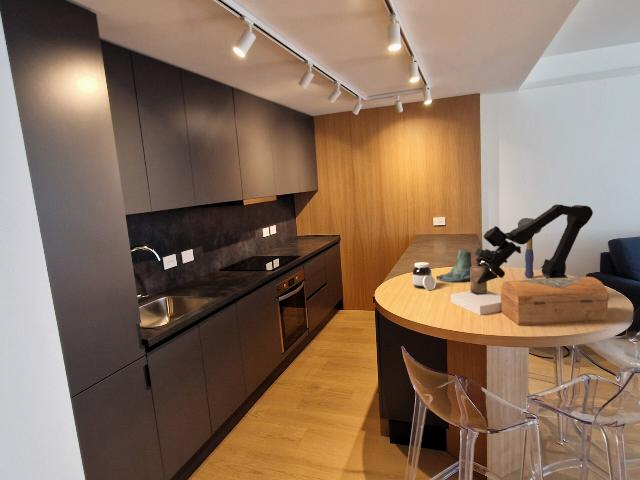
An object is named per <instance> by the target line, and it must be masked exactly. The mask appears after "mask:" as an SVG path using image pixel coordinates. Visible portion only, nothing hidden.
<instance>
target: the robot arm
mask: <svg viewBox="0 0 640 480" xmlns="http://www.w3.org/2000/svg"><path fill="white" fill-rule="evenodd" d="M562 215H563V216H564V215H565V216H566V224H567V225H566V227H565V228H564V230H563V231H564V232H563V234H562V235H561V237H560V239H559V242H558V244H557V247H556V249H555V251H554V253H553V256H552V257H550V259H547V258H546V259H545V260H544V262H543V264H542V265H541V267H540V268H541V274H542V275H543V277H545V279H547V278H569V277H568V276H567V275H566V270H567V266H566V265H567V263H566V262H567V259H568V257H569V254H570V252H571V250H572V248H573V247H574V244H575V242H576V239H577V237H578V236H579V234H580V231H581V229H582V228H583V227H584V226H585V225H587V224H588V222H589V221H590V219H591V218H592V217H593V215H594V210H593V209H592V207H590V206H589V205H582V204H580V205H579V204H576V205H575V204H574V205H573V206H571V205H570V206H569V205H565V204H557V203H556V204H554V205H552V206H551V207H550V208H548V209H546V211H545V212H543V213H541V214H540V215H538V216H537V217H536V218H533V219H534V220H533V221H531V222H530V223H528V224H526V225H523V226H520V227H518V226H517V227H516V228H514V229H512V230H511V231H510V232H504V231H502V230H501V229H500V227H498V226H497V225H495V226H493V228H490V229H489V230H487V231H486V232H485V233H484V235H483V239H484V240H485V241H487V242H488V243H489V244H490V245H492V246H493V248H496V249H495V250H490V249H487V248H485V249H482V248H480V247H478V248H477V249H476V252H475V253H474V255H475V256H477V257H476V259H475V261H476V266H485V272H484V273H483V275H482V276H481V277H480V279H479V280H478V282H477V283H478V284H481V283H484V282H486V281H487V282H489V281H491V280H494V279H498V278H500V279H503V277H505V275H506V271H504V270H503V269H502V268H501V266H502V265H503V264H504V263H505V264H507V263H508V260H509V258H510V257H511V256H512V255H513V254H514V253H517V254H522V249H521V248H522V246H523V245H525V244H526V245H527V242H528V241H529V240H530V239H531V238H532V239H533V237H534V236H535V235H536V234H535V233H536V232H537V231H538V230H540V229H541V228H542V229H543V228H544V227H546V226H547V225H549V224H550V223H551V222H553V221H554V220H556V219H557V218H559V217H560V216H562ZM542 229H541V230H542ZM516 244H518V245H516ZM520 245H522V246H520Z"/></svg>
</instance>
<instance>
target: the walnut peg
mask: <svg viewBox="0 0 640 480" xmlns="http://www.w3.org/2000/svg"><path fill="white" fill-rule="evenodd" d="M484 272H485V266H477V265H472V267H470V281H469V282H470V283H469V284H470V290H469V291H472V292H474V294H476V295H481V294H483V293H484V292H487V291H488V283H487V282H488V281H486V282H484V283H481V284H478V283H477V282H478V280H479V279H480V277H481V276H482V275H483V273H484Z"/></svg>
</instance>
